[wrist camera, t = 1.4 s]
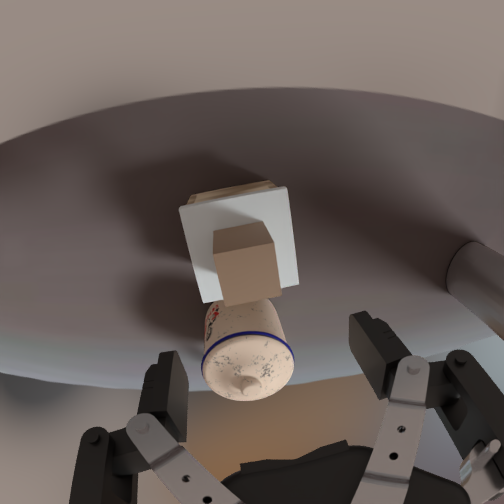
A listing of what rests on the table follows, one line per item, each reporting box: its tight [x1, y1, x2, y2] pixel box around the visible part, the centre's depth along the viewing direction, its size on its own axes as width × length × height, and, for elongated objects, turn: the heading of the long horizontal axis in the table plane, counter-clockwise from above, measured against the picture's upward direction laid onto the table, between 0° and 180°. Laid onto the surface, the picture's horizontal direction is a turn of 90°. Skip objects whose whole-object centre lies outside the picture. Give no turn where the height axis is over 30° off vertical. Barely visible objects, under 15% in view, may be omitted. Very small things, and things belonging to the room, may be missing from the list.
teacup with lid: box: [201, 299, 294, 401], centre depth 31 cm, size 12×9×12 cm
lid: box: [179, 186, 299, 307], centre depth 23 cm, size 9×9×7 cm
